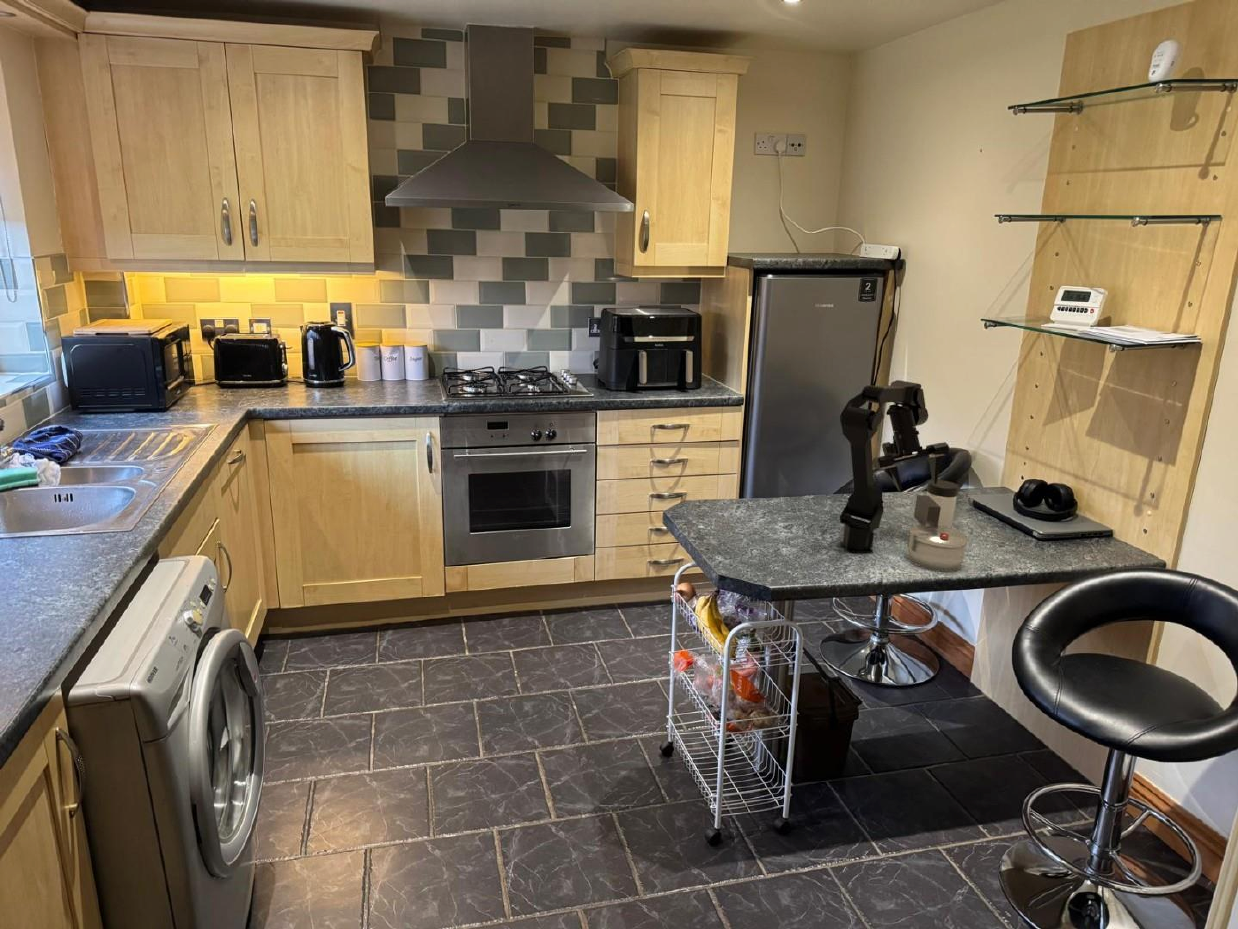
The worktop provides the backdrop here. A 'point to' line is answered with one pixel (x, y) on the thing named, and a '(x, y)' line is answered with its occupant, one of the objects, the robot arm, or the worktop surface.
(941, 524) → the jar
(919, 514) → the cooker lid
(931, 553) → the cooker pot
